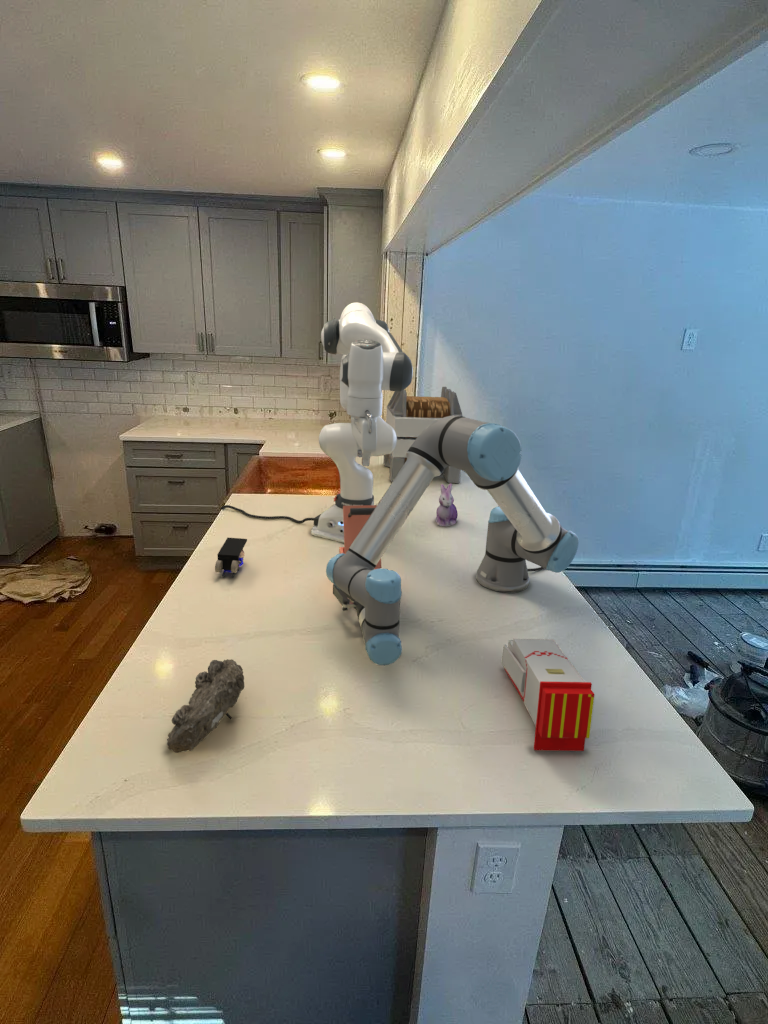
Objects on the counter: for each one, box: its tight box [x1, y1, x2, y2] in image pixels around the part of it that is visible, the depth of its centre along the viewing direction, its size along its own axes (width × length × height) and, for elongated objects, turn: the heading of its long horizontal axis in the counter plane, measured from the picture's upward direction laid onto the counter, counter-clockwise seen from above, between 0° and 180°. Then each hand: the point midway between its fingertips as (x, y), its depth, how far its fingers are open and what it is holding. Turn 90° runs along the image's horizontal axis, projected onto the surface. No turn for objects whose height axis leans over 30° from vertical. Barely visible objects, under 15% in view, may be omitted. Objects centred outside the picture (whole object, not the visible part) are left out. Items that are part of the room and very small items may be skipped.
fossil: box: [166, 658, 245, 754], centre depth 106 cm, size 22×10×15 cm
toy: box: [500, 637, 595, 752], centre depth 114 cm, size 12×13×30 cm
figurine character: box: [214, 537, 248, 578], centre depth 166 cm, size 7×8×15 cm
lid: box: [343, 504, 383, 569], centre depth 148 cm, size 17×10×9 cm
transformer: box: [383, 386, 463, 484], centre depth 268 cm, size 34×33×41 cm
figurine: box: [434, 483, 459, 527], centre depth 210 cm, size 9×10×15 cm
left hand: (363, 460), depth 147 cm, fingers open, 7 cm apart
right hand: (361, 574), depth 154 cm, fingers closed on chest, 10 cm apart
